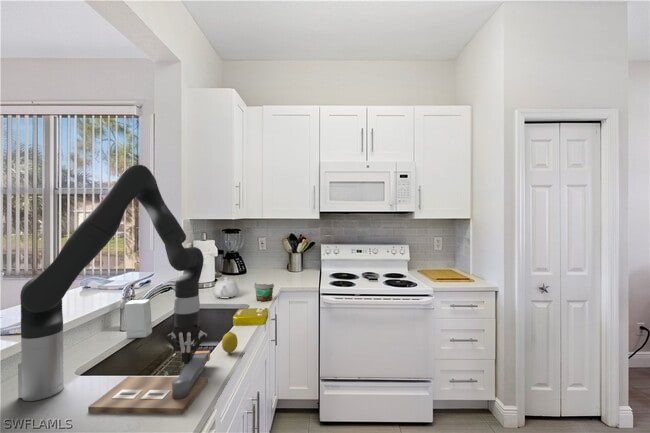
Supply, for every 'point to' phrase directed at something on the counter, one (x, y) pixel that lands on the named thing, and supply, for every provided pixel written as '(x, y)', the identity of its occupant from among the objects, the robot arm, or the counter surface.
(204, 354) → the swing arm
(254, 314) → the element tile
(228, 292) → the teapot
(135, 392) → the label board
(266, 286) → the food container
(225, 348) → the lemon
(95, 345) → the counter surface
